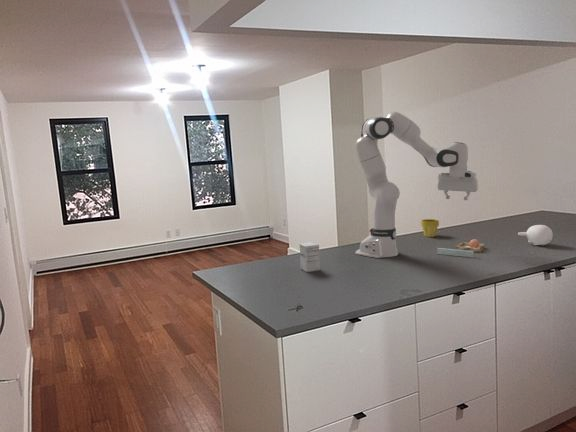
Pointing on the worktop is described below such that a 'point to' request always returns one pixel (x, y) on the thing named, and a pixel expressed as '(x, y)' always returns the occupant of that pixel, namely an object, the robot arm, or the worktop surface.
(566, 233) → the worktop surface
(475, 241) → the coral ball
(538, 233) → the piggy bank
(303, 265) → the supplement box
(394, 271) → the worktop surface
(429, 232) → the plant pot
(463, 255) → the aqua wall
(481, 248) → the birch tray
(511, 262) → the worktop surface
